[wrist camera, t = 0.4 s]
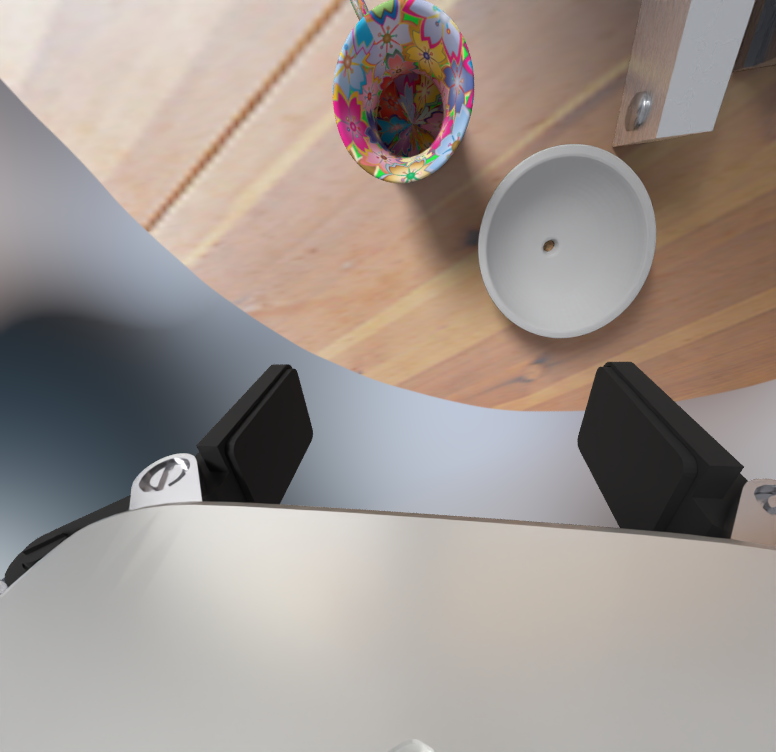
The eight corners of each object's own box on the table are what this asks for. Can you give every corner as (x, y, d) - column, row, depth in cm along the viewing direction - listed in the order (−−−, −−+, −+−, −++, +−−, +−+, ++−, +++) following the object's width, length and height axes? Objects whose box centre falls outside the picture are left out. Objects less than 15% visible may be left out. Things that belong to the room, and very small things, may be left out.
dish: (649, 277, 34) (679, 291, 30) (518, 343, 40) (527, 362, 35) (590, 105, 28) (618, 91, 23) (444, 212, 33) (445, 217, 29)
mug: (480, 145, 30) (497, 129, 21) (395, 202, 33) (378, 209, 24) (420, -14, 25) (409, -121, 16) (328, 71, 29) (278, 21, 20)
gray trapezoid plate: (647, -57, 23) (720, -141, 17) (710, -71, 22) (808, -163, 16) (607, 147, 29) (650, 139, 23) (655, 141, 28) (712, 130, 22)
